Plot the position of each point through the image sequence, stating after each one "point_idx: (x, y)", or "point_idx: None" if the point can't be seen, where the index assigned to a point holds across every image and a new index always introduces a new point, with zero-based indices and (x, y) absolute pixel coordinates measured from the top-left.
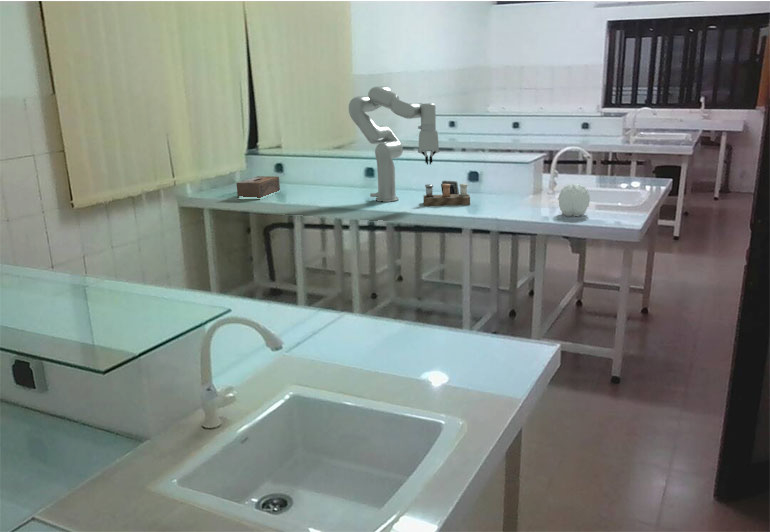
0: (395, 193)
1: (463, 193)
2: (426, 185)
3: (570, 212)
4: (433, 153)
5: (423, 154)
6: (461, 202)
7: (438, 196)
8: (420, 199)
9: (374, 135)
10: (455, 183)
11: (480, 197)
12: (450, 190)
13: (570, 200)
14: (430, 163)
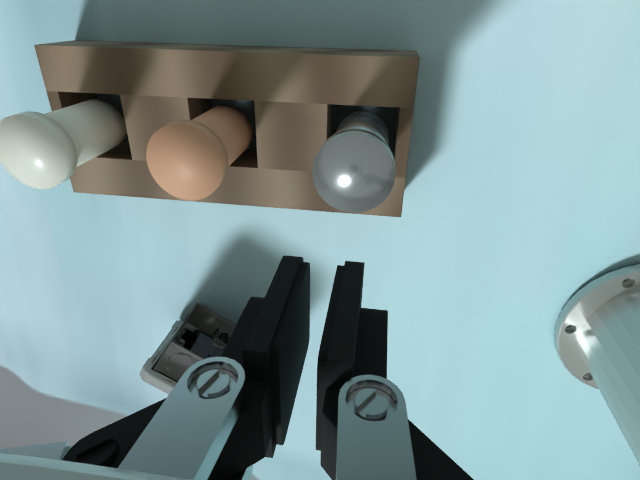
0: (592, 350)
1: (78, 106)
2: (384, 146)
3: None
4: (143, 434)
5: (439, 458)
6: (122, 43)
7: (286, 134)
8: (406, 301)
9: None
10: (155, 366)
11: (59, 280)
12: (208, 346)
13: None
14: (290, 261)
